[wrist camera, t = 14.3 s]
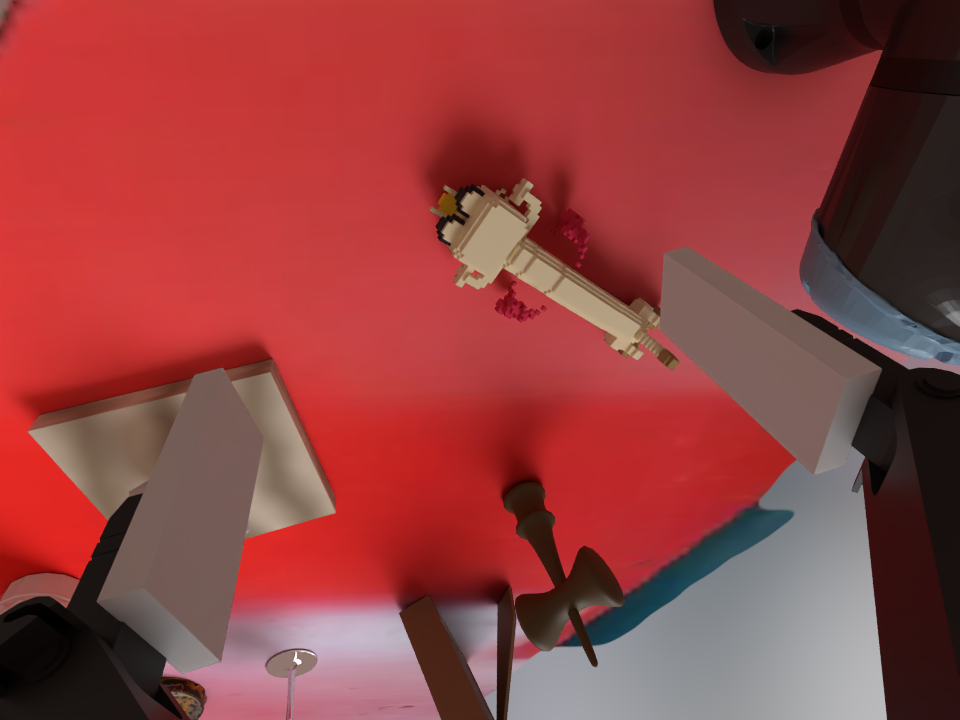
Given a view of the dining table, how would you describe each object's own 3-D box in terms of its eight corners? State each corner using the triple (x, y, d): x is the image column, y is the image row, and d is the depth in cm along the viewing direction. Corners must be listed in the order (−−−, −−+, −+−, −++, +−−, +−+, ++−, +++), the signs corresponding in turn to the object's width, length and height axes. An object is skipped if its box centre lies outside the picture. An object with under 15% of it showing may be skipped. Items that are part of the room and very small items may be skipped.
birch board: (272, 358, 41) (270, 372, 40) (335, 497, 52) (335, 512, 50) (40, 414, 39) (27, 431, 37) (155, 548, 49) (149, 566, 48)
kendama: (566, 479, 60) (655, 645, 44) (506, 525, 62) (571, 700, 46) (539, 458, 56) (624, 629, 40) (477, 507, 58) (534, 689, 42)
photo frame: (441, 672, 78) (482, 896, 58) (398, 605, 65) (430, 863, 45) (529, 638, 79) (599, 845, 59) (503, 565, 66) (581, 799, 46)
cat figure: (665, 283, 49) (472, 132, 35) (726, 328, 43) (518, 165, 28) (599, 358, 52) (398, 248, 38) (646, 412, 46) (424, 303, 32)
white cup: (83, 562, 48) (34, 669, 40) (107, 608, 52) (67, 714, 44) (-17, 575, 46) (-90, 691, 38) (16, 623, 50) (-43, 737, 42)
